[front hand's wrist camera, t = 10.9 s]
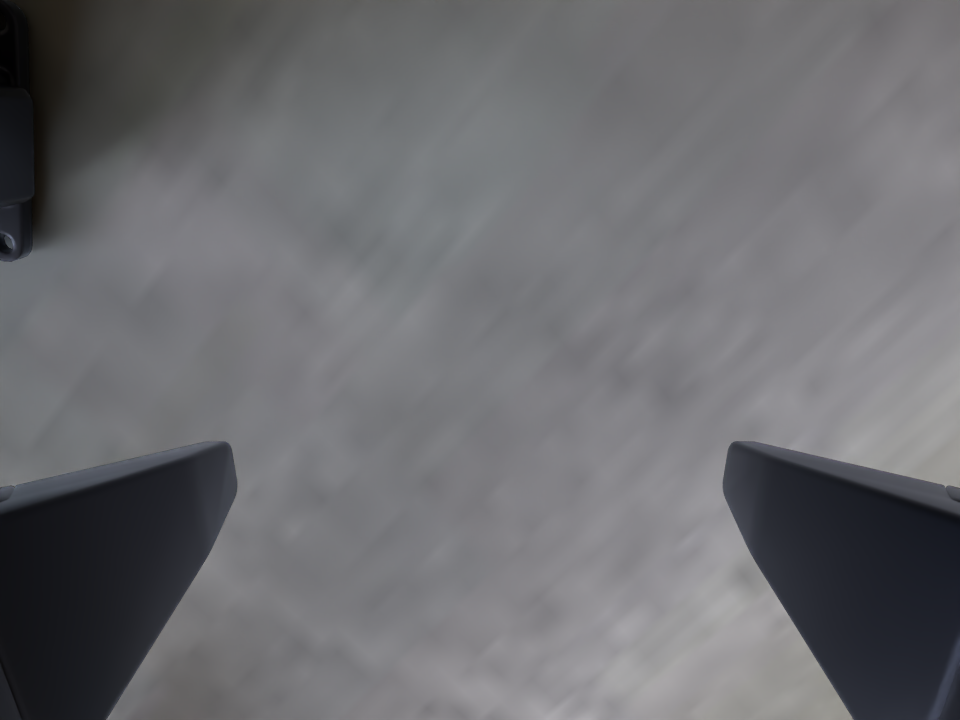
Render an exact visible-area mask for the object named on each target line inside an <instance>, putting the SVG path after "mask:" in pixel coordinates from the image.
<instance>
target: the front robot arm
mask: <svg viewBox="0 0 960 720" xmlns="http://www.w3.org/2000/svg"><path fill="white" fill-rule="evenodd" d="M0 11H1V12H2V14H3V15H4V16H5V19H6V27H5V29H4V30H3V31H2V30H1V29H0V260H1V261H9V262H12V261H15V260H18V259H21V258H23V257H26V256H28V254H29V253H30V252H31V249H32V203H31V197H32V196H34V193H35V187H34V131H33V101H32V99H31V97H30V96H29V51H28V25H27V20H26V17H25V15H24V14H23V12H22V10H21V9H20V8H19V7H18V6H17V5H16V4H15V3H13V2H11V1H9V0H0ZM5 235H6V236H8V237H9V238H10V239H11V240H12V243H13V249H11V248H9V247H8V246H7V245H6V243H5V241H4V236H5ZM236 492H237V478H236V472H235V466H234V460H233V454H232V449H231V446H230V445H229V443H227V442H225V441H213V442H202V443H197V444H193V445H189V446H184V447H180V448H176V449H171V450H167V451H163V452H158V453H154V454H150V455H145V456H141V457H137V458H132V459H128V460H124V461H119V462H115V463H110V464H106V465H102V466H97V467H93V468H89V469H84V470H80V471H76V472H71V473H67V474H63V475H58V476H54V477H50V478H45V479H41V480H37V481H32V482H28V483H24V484H19V485H16V486H15V488H14V487H13V486H7V487H3V488H0V720H106V719H107V718H108V716H109V714H110V713H111V711H112V710H113V708H114V706H115V705H116V703H117V702H118V700H119V698H120V697H121V695H122V693H123V692H124V690H125V689H126V687H127V685H128V684H129V682H130V681H131V679H132V677H133V676H134V674H135V673H136V671H137V669H138V668H139V666H140V665H141V663H142V661H143V660H144V658H145V657H146V655H147V653H148V652H149V650H150V648H151V647H152V645H153V644H154V642H155V640H156V639H157V637H158V636H159V634H160V632H161V631H162V629H163V628H164V626H165V624H166V623H167V621H168V620H169V618H170V616H171V615H172V613H173V612H174V610H175V608H176V607H177V605H178V604H179V602H180V600H181V599H182V597H183V595H184V594H185V592H186V591H187V589H188V587H189V586H190V584H191V583H192V581H193V579H194V578H195V576H196V575H197V573H198V571H199V570H200V568H201V567H202V565H203V563H204V562H205V560H206V558H207V556H208V555H209V553H210V551H211V549H212V547H213V545H214V543H215V541H216V538H217V536H218V534H219V532H220V530H221V527H222V525H223V523H224V521H225V518H226V516H227V514H228V512H229V510H230V507H231V505H232V503H233V501H234V499H235V496H236ZM723 492H724V496H725V499H726V501H727V503H728V505H729V507H730V510H731V512H732V514H733V516H734V519H735V521H736V523H737V525H738V527H739V530H740V532H741V534H742V536H743V538H744V541H745V543H746V545H747V547H748V549H749V551H750V553H751V555H752V556H753V558H754V560H755V562H756V563H757V565H758V567H759V568H760V570H761V571H762V573H763V575H764V576H765V578H766V579H767V581H768V583H769V584H770V586H771V587H772V589H773V591H774V592H775V594H776V595H777V597H778V599H779V600H780V602H781V603H782V605H783V607H784V608H785V610H786V611H787V613H788V615H789V616H790V618H791V620H792V621H793V623H794V624H795V626H796V628H797V629H798V631H799V632H800V634H801V636H802V637H803V639H804V640H805V642H806V644H807V645H808V647H809V648H810V650H811V652H812V653H813V655H814V657H815V658H816V660H817V661H818V663H819V665H820V666H821V668H822V669H823V671H824V673H825V674H826V676H827V677H828V679H829V681H830V682H831V684H832V685H833V687H834V689H835V690H836V692H837V693H838V695H839V697H840V698H841V700H842V702H843V703H844V705H845V706H846V708H847V710H848V711H849V713H850V714H851V716H852V718H853V719H854V720H960V488H957V487H953V486H947V487H946V488H945V486H944V485H941V484H937V483H932V482H928V481H923V480H919V479H915V478H910V477H906V476H902V475H897V474H893V473H889V472H884V471H880V470H876V469H871V468H867V467H863V466H858V465H854V464H850V463H845V462H841V461H837V460H832V459H828V458H824V457H819V456H815V455H810V454H806V453H802V452H797V451H793V450H789V449H784V448H780V447H776V446H771V445H767V444H763V443H758V442H747V441H735V442H733V443H731V445H730V446H729V449H728V454H727V460H726V466H725V472H724V477H723Z"/></svg>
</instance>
